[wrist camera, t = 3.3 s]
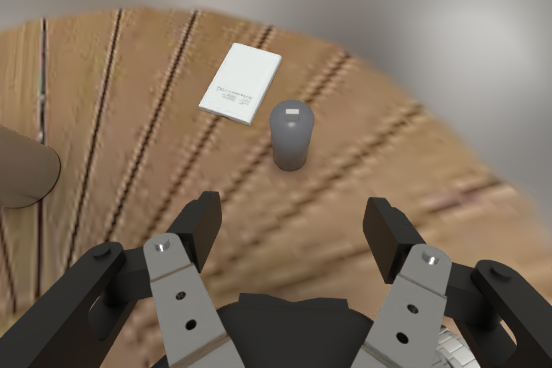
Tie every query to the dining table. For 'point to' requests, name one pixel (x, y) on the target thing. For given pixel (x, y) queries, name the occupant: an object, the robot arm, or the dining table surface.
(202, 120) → the dining table surface
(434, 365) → the watch
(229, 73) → the external hard drive
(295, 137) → the grey upright cylinder
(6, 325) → the dining table surface
